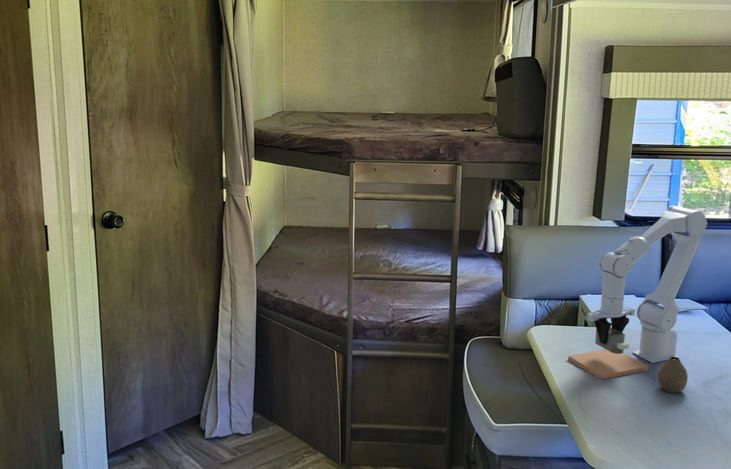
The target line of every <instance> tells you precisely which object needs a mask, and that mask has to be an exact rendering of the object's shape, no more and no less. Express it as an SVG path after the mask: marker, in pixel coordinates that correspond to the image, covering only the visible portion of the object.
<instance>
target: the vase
mask: <svg viewBox="0 0 731 469" xmlns="http://www.w3.org/2000/svg"><path fill="white" fill-rule="evenodd" d="M657 377H658V378H657V379H658V383H659V386H660V388H662V389H663V390H664V391H665V392H668V393H671V394H678V393H680V392H682V391H683V390H684V389H685V388H686V386H687V385H688V372H687V369H686V367H685V366H684V364H683V363H682V361H681V359H680V357H678V356H677V357H670V358H669V359H668V360H665V361H664V363H663V364H662V365H661V366H660V367H659V370H658V373H657Z"/></svg>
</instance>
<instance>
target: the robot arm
mask: <svg viewBox="0 0 731 469" xmlns="http://www.w3.org/2000/svg"><path fill="white" fill-rule="evenodd" d="M707 226H708V221H707V218H706V214H704V212H702V210H694V209H689V208H685V207H681V206H678V205H671V206H669V207H668V208H667V209H666V210H663V211H662V212H661V216H660V218H659V219H658V220H657V221H656V222H655V223H653V224H652V225H651V226H650V227H649V228H648V229H647V230H646V231H645V232H644V233H643V234H641V235H640V236H636V235H635V236H631V237H629V238H628V239H627V241H625V242H624V243H623V244H622V245H620V246H619V247H618V248H616V249H615V250H614V251H609V252H606V253H605V254H604V255H602V257H601V259H600V261H599V262H598V266H599V268H600V271H601V276H602V284H601V286H602V287H601V299H600V306H599V309H596V310H593V311H592V312H588V313H587V315H586V316H587V317H586V320H587V321H589V322H591V323H593V324H594V326H595V329H596V328H597V331H598V335H599V341H600V343H602V344H604V345H605V344H607V340H608V333H609V329H610V327H611V328H613V329H615V330H617V331H619V332H621V333H624V332H623V331H624V330H625V329H626V327H627V326H628V324H629V323H630V318H628V317H627V316H632V317H633V316H635V313H636V318H637V320H639V325H641V331H640V339H639V340H640V342H639V349H638V350H633V351H632V354H634V355H636V356H637V357H640V358H642V359H643V360H646V361H647V362H649V363H651V364H654V363H659V362H666V361H667V360H668V359H669V358H670V357H678V356H677V355H676V352H677V351H676V350H677V342H678V340H677V339H678V333H677V331H676V329H675V328H674V327H675V326H676V323H677V320H678V313H679V310H680V307H679V306H678V304H677V303H676V301H675V298H676V296H677V295H678V292H679V289H680V288H681V286H682V283H683V281H684V279H685V276H686V274H687V272H688V269H689V268H690V266H691V263H692V261H693V258H694V257H695V255H696V252H697V250H698V247H699V245H700V243H701V239H702V236H703V234H704V233H705V231H706V228H707ZM669 233H670V234H672V235H673V236H674V237H675V239H676V244H675V246H674V248H673V250H672V252H671V254H670V257H669V260H668V262H667V264H666V266H665V268H664V270H663V273H662V275H661V277H660V280H659V282H658V283H657V285H656V288H655V290H654V291H653V292H652V293H648V294H646V295H645V297H644V299H643V300H642V302H640V304H639V305H638V306H637V309H636V308H634V307H631V306H624V302H625V301H624V299H625V298H624V297H625V287H626V286H625V285H626V276H628V275H629V274H630V272H631V270H632V268H633V267H634V265H635V263H636V262H638V261H639V260H640V259H642V258H643V257H644V256H645V255H647V254H648V253H649V250H650V246H651V245H653V244H655V243H656V242H658V241H660V240H661V239H662V238H664V237H665V236H667V235H668V234H669ZM661 305H662V306H661ZM608 319H610V322H609V321H608Z"/></svg>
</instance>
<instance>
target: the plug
mask: <svg viewBox="0 0 731 469" xmlns="http://www.w3.org/2000/svg"><path fill="white" fill-rule="evenodd" d="M625 336H626V335H625V333H624V332H622V333H621V332H619V331H617V330H615V329H613V328H612V326H611V327H610V329H609V333H608V340H607V344H605V345H604V344H602V343H600V341H599V335H598V331H597V328H596V327H595V339H594V340H595V342H594V343H595V345H597V346H599V347H601V348H603V349H606V350H608V351H610V352H612V353H615V354H622V353H624V350H627V349H629V347H630V344H629V343H628V342H625V339H626V338H625Z"/></svg>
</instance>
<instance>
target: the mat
mask: <svg viewBox="0 0 731 469" xmlns="http://www.w3.org/2000/svg"><path fill="white" fill-rule="evenodd" d="M568 361H570V362H571V363H573V364H575V365H576V366H578V367H579V368H581V369H582V370H584V371H586V372H587V373H589V374H591V375H592V376H594V377H596V378H598V380H606V379H610V378H615V377H616V378H617V377H621V376H626V375H631V374H636V373H641V372H646V371H649V365H647V364H645V363H643V362H642V361H639V359H638V360H637V359H636V358H634V357H632V356H631V355H629V354H628V353H625V352H623V353H622V354H615V353H612V352H610V351H608V350H606V349H604V348H603V349H599V350H593V351H587V352H581V353H577V354H570V355H568Z"/></svg>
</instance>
